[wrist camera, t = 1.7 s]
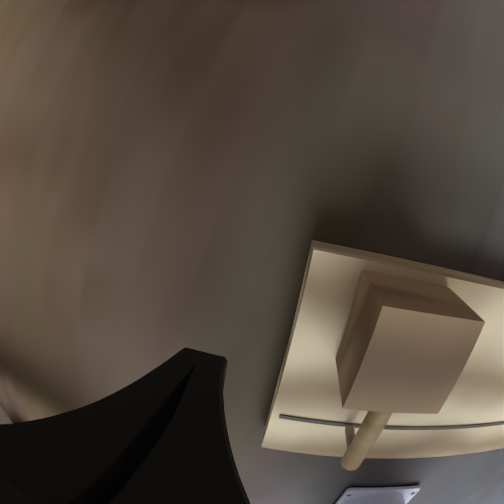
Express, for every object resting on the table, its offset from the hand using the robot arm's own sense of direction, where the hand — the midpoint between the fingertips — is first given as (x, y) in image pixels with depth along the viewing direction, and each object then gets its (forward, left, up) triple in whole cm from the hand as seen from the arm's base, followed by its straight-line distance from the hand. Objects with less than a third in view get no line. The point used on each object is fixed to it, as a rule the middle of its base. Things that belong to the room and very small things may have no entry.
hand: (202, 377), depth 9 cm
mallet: (-3, -8, -7) cm, 11 cm away
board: (-4, -19, -9) cm, 21 cm away
